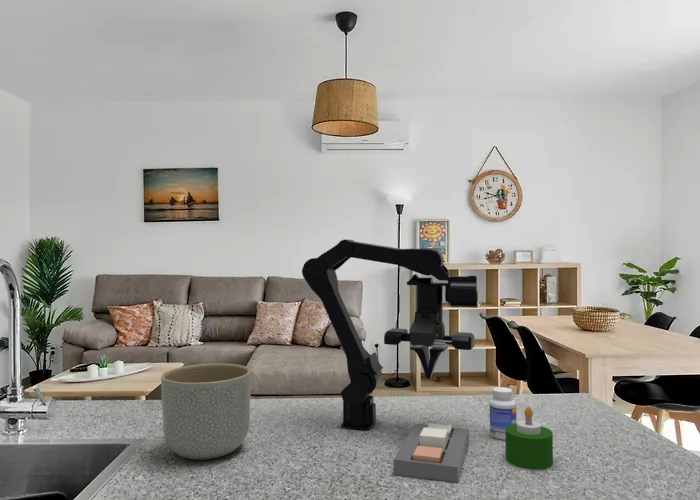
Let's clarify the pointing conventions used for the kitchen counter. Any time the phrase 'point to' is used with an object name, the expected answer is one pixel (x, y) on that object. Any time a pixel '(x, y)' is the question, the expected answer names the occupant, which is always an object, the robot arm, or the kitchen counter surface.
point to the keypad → (430, 470)
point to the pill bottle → (501, 412)
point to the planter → (206, 409)
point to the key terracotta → (428, 454)
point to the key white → (434, 438)
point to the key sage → (439, 426)
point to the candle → (529, 444)
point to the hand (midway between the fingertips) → (428, 378)
